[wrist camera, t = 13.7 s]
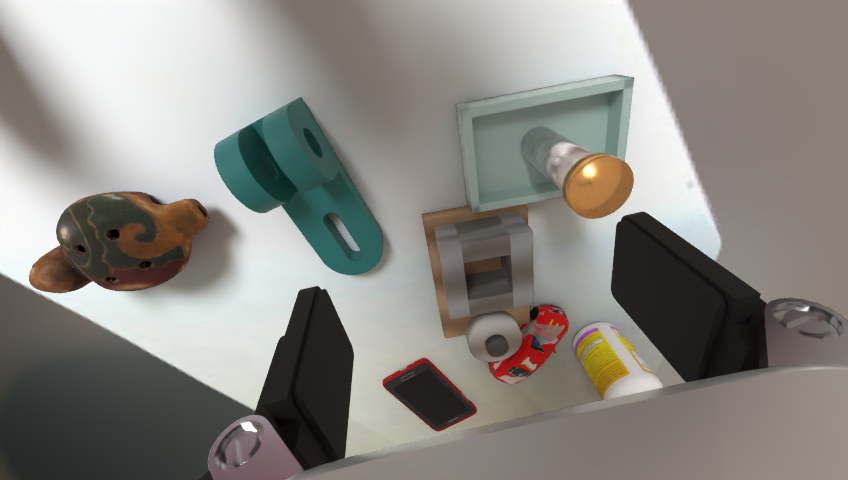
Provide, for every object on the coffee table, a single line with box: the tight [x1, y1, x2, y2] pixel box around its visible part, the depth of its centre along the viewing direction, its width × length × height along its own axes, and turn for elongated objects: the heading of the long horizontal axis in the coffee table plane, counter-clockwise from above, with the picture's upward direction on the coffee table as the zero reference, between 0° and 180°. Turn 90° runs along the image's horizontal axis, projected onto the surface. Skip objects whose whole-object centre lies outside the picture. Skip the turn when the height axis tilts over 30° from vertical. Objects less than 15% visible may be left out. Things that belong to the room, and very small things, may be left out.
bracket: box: [214, 97, 383, 275], centre depth 34 cm, size 18×7×8 cm, turn 25°
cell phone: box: [383, 358, 477, 431], centre depth 53 cm, size 8×15×1 cm, turn 34°
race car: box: [488, 305, 569, 384], centre depth 47 cm, size 13×5×4 cm, turn 147°
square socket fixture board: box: [422, 204, 534, 362], centre depth 39 cm, size 17×11×8 cm, turn 9°
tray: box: [456, 75, 634, 213], centre depth 34 cm, size 10×15×3 cm, turn 99°
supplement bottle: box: [573, 322, 663, 400], centre depth 44 cm, size 7×7×13 cm
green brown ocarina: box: [29, 192, 209, 293], centre depth 34 cm, size 10×15×8 cm, turn 115°
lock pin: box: [521, 126, 634, 219], centre depth 30 cm, size 4×4×12 cm
